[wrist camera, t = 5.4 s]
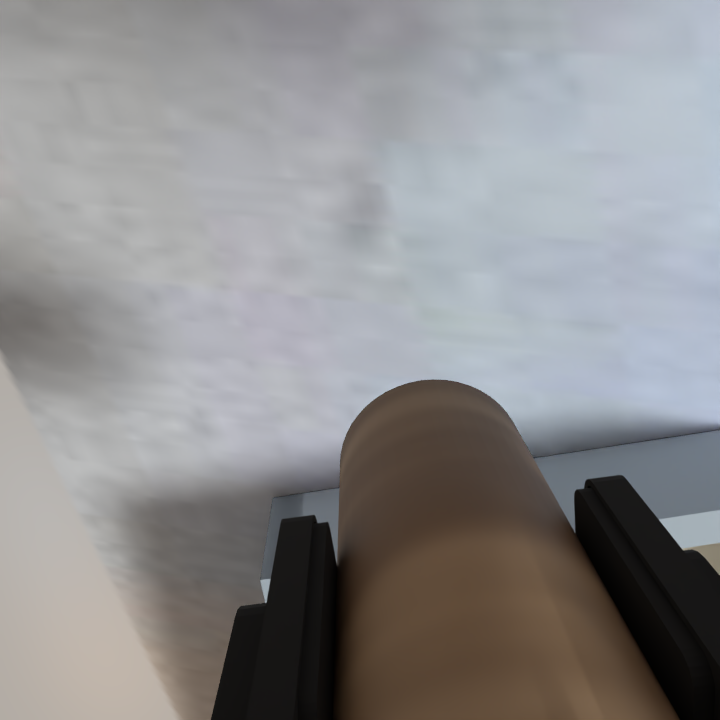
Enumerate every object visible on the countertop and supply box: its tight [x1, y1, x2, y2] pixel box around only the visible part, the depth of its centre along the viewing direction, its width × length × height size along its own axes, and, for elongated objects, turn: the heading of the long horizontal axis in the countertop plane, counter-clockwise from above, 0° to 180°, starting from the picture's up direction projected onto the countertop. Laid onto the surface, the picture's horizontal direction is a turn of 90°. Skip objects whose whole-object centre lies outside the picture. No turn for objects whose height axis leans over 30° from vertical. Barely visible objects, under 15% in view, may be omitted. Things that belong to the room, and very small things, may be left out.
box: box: [260, 430, 720, 603], centre depth 25 cm, size 16×18×5 cm
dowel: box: [333, 380, 680, 720], centre depth 9 cm, size 4×4×11 cm
